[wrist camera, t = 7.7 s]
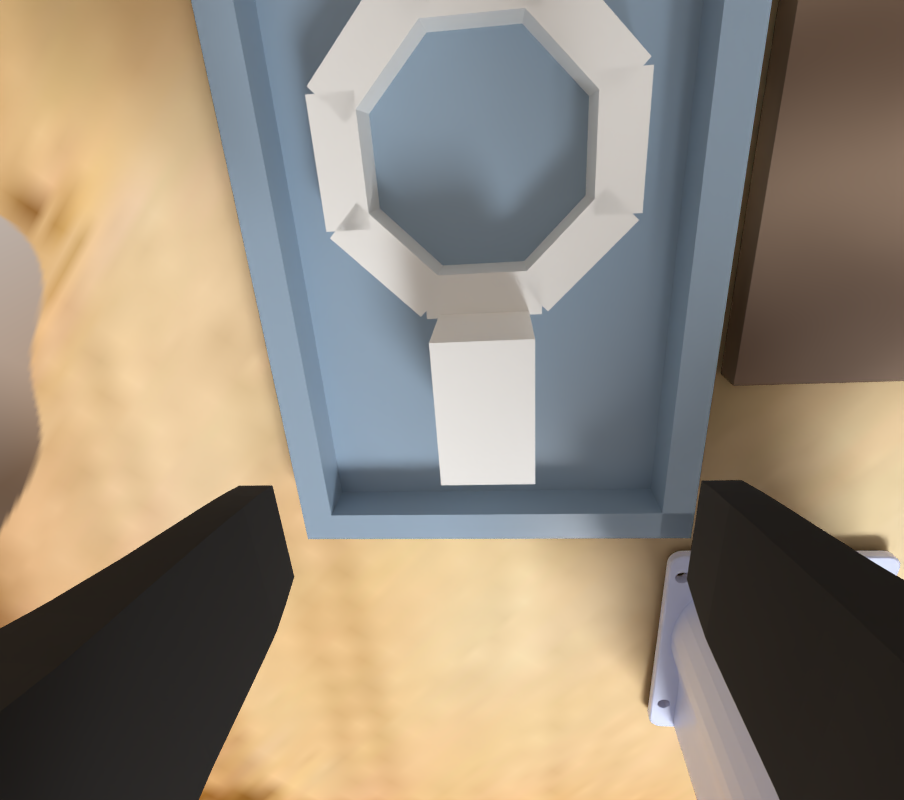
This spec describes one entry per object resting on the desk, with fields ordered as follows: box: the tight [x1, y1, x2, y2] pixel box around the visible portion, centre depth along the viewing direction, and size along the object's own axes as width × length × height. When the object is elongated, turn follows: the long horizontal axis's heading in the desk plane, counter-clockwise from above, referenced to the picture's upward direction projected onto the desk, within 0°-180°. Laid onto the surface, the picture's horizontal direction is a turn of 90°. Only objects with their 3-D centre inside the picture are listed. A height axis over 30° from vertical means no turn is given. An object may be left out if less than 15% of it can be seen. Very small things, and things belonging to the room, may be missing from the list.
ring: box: [305, 0, 654, 485], centre depth 13 cm, size 12×8×4 cm
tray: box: [191, 0, 772, 539], centre depth 15 cm, size 20×13×2 cm, turn 4°
